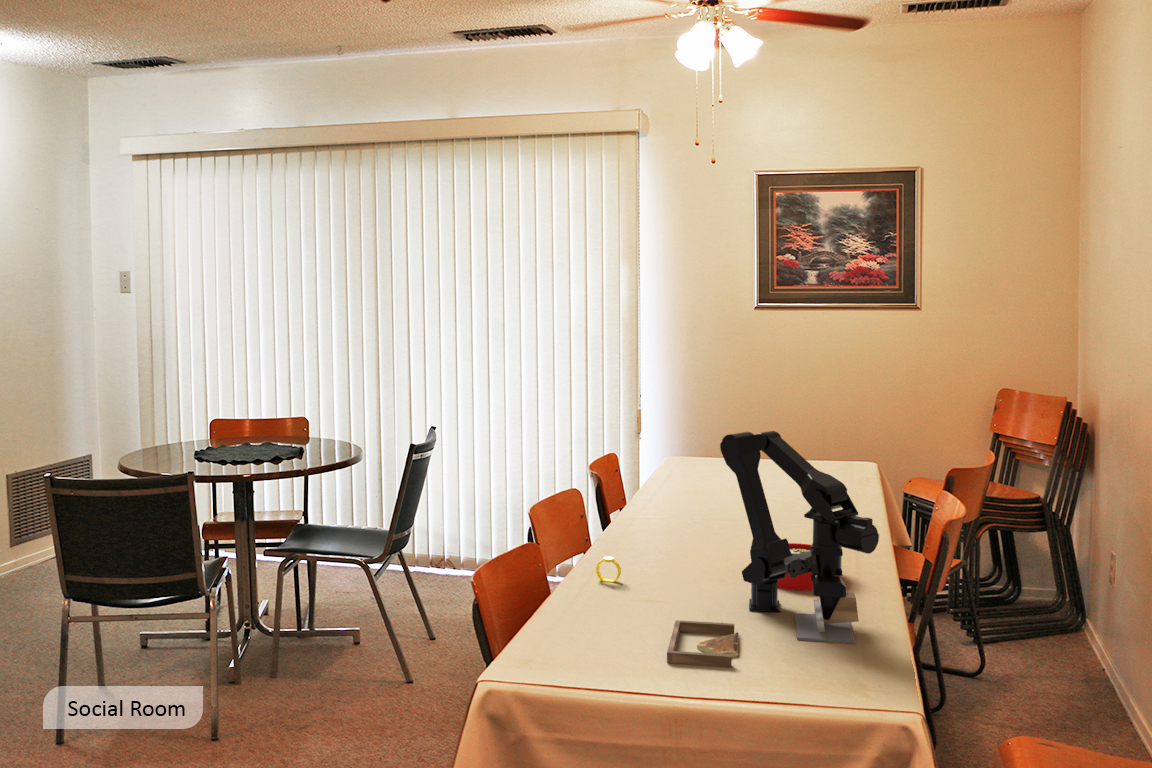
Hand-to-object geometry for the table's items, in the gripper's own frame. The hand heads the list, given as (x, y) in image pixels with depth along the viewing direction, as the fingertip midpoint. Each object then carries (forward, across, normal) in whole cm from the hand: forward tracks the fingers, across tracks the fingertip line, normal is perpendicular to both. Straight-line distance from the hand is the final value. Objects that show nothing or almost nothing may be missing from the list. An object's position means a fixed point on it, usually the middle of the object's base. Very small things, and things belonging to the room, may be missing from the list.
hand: (826, 616), depth 185 cm
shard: (+3, +13, -21) cm, 25 cm away
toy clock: (+3, -34, -4) cm, 34 cm away
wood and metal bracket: (+1, 0, +3) cm, 3 cm away
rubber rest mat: (+3, 0, 0) cm, 3 cm away
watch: (+3, -23, -49) cm, 55 cm away
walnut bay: (+3, +14, -24) cm, 28 cm away
